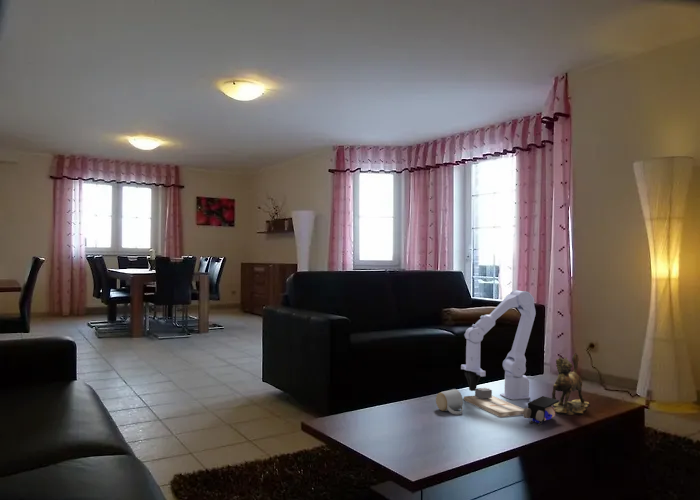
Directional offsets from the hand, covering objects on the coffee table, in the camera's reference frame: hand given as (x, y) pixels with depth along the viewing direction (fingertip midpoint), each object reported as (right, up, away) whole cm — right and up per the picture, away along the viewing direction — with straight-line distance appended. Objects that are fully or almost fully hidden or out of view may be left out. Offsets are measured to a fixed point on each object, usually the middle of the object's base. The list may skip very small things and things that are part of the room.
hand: (472, 390), depth 211 cm
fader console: (+5, -3, -14) cm, 15 cm away
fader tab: (+3, -1, -7) cm, 7 cm away
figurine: (+36, -4, -12) cm, 38 cm away
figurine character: (+17, -3, -30) cm, 35 cm away
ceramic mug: (-13, -2, -20) cm, 24 cm away
